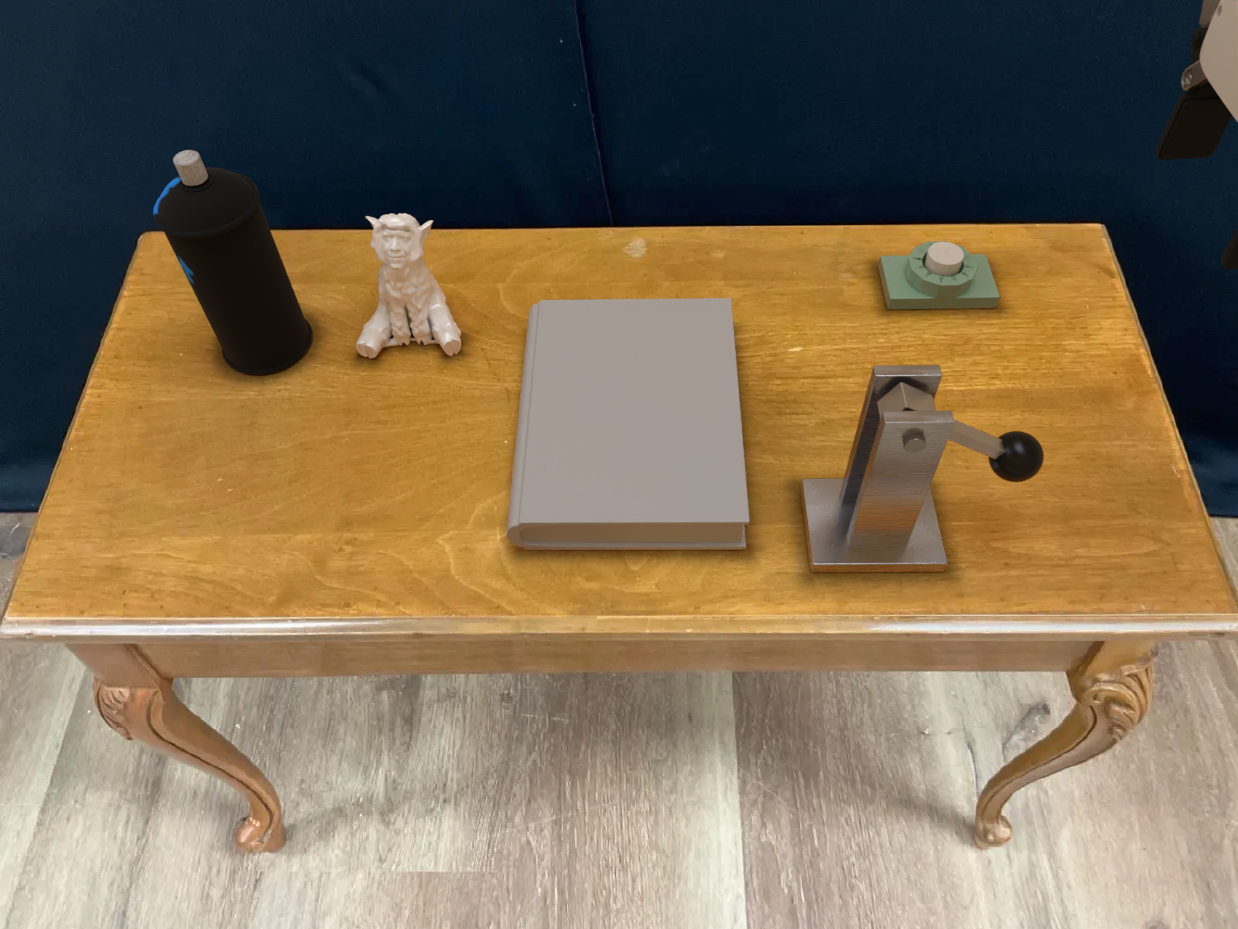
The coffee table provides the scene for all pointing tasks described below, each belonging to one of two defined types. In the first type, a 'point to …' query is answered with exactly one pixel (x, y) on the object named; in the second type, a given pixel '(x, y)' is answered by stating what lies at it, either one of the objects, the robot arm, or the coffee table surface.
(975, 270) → the green push button base
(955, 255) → the beige push button
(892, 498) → the lever stand
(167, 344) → the coffee table surface
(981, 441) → the lever with ball knob
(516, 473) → the book
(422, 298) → the sitting furry creature
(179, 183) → the aerosol can
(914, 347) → the coffee table surface
